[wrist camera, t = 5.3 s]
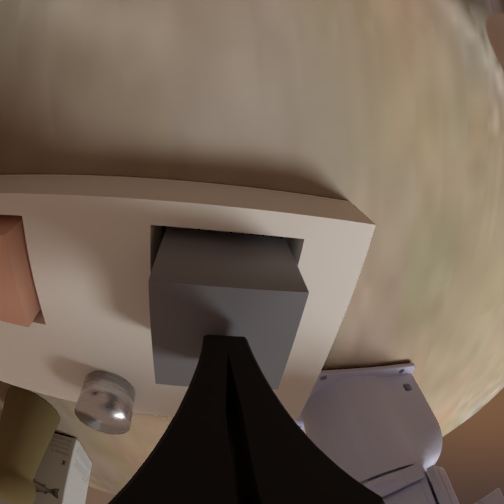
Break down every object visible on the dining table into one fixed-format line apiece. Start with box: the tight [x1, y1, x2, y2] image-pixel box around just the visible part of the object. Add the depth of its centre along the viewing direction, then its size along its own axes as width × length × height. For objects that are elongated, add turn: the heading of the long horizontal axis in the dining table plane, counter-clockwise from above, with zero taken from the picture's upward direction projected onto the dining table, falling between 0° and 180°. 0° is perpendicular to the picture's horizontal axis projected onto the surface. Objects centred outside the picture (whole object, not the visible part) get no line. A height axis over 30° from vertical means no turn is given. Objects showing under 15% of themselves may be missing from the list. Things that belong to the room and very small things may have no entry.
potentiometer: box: [75, 370, 136, 434], centre depth 15 cm, size 3×3×2 cm
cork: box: [0, 387, 60, 504], centre depth 16 cm, size 6×6×11 cm
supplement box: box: [0, 433, 92, 504], centre depth 19 cm, size 7×7×13 cm
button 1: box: [148, 228, 309, 389], centre depth 12 cm, size 5×5×4 cm
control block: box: [0, 174, 376, 419], centre depth 15 cm, size 24×14×3 cm, turn 81°
